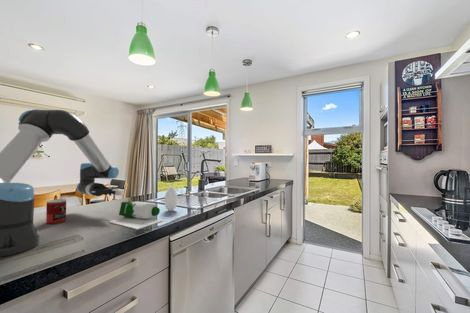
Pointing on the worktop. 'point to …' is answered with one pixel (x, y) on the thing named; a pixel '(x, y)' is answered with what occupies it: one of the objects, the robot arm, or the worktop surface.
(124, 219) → the mat
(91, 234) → the worktop surface
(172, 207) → the sauce bottle
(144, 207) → the soya milk
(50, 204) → the canned food
